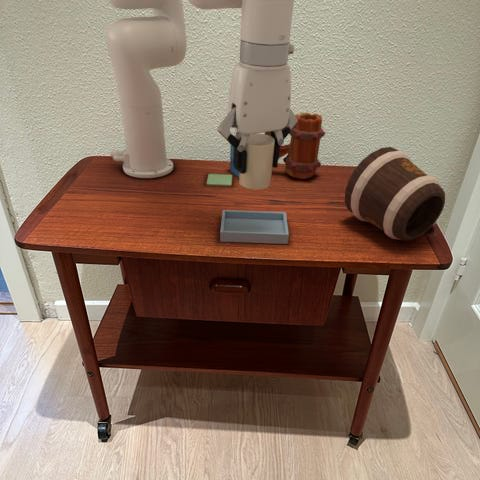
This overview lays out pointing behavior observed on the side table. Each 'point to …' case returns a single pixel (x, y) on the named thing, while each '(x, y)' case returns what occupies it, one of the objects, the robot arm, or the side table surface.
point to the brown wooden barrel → (394, 194)
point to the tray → (254, 227)
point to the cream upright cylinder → (258, 162)
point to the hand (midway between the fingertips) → (255, 167)
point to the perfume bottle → (232, 162)
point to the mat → (219, 180)
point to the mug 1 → (303, 146)
